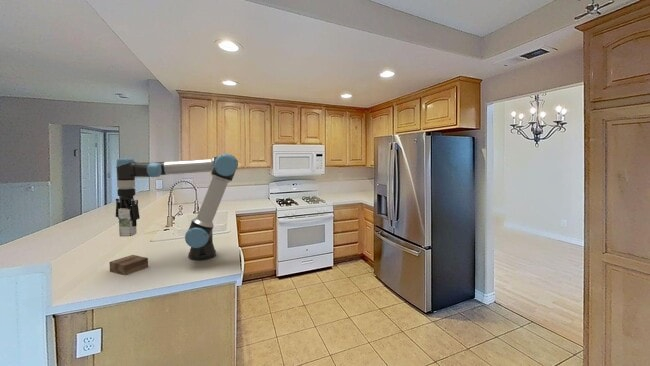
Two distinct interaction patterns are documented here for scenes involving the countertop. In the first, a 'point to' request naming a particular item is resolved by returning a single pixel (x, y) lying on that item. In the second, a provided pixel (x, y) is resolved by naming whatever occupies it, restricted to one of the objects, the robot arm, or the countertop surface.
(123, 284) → the countertop surface
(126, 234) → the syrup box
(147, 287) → the countertop surface
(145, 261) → the walnut plinth
